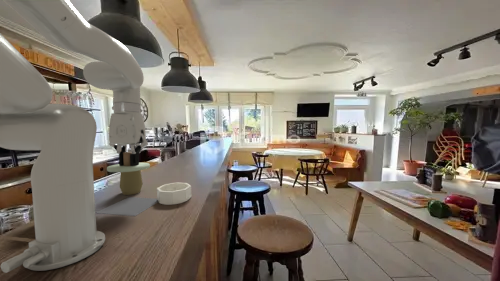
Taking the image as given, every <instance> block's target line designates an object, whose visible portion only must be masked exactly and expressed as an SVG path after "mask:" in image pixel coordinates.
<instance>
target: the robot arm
mask: <svg viewBox="0 0 500 281" xmlns="http://www.w3.org/2000/svg"><path fill="white" fill-rule="evenodd" d="M1 1H3V2H4V3H5V4H6V5H7V6H8V7H10V9H12V10H13V11H14V12H15V13H17V15H18V16H20V18H22V19H23V20H24V21H26V23H28V24H29V25H30V26H31V27H32V28H33V29H34V30H35V31H36V32H38V33H39V35H41V36H42V37H43V38H44V39H45V40H46V41H47V42H49V43H51V44H53V46H56V47H58V48H61V49H64V50H67V51H70V52H72V53H76V54H80V55H83V56H88V57H90V58H93V59H97V60H98V61H96V60H95V61H90V62H88V63H87V64H86V65H84V66H83V69H82V74H83V77H84V79H85V81H86V82H87V83H88V84H89V85H91V86H92V87H94V88H96V89H99V90H110V91H112V95H113V96H112V98H113V100H112V102H113V106H112V107H111V109H112V111H113V112H112V113H111V115H110V118H109V125H108V126H109V127H108V128H109V130H108V141H109V143H108V144H109V146H110V147H112V148H113V149H114V150H115V151H116V154H118V164H119V166H123V165H124V161H123V152H127V151H128V150H127V148H128V145H130V149H131V152H132V154H130V166H136V165H139V163H140V153H141V152H142V150H143V149H145V148H146V147H147V146H149V142H148V141H147V139H146V135H147V134H146V125H145V120H144V116H143V114H142V111H141V110H142V108H141V106H142V105H141V104H142V103H141V87H142V85H143V84H144V80H145V77H144V73H143V70H142V68H141V65H140V64H139V63H138V61H137V60H136V58H135V57H134V56H133V53H131V51H130V50H129V49H128V48H127V47H126V46H125V45H124V44H123V43H122V42H120V41H119V40H117V39H116V38H114V37H113V36H111V35H109V34H108V33H107V32H105V31H103V30H102V29H100V28H98V27H97V26H95V25H93V24H91V23H89V22H88V21H87V20H85V18H84V17H83V15H81V14H80V12H79V11H78V10H77V9H76V7H75V6H74V5H73V4H72V2H71V1H70V0H1ZM52 100H53V90H52V87H51V85H50V83H49V82H48V80H47V79H46V78H45V76H43V75H42V73H41V72H39V70H38V69H37V68H36V67H34V65H32V63H31V62H30V61H29V60H28V59H27V58H26V57H25V56H24V55H23V54H21V52H19V50H18V49H17V48H16V47H15V46H14V45H13V44H12V43H11V42H10V41H9V40H8V39H7V38H6V37H5V36H4V35H3V34H2V33H1V32H0V148H2V149H6V150H13V151H39V154H38V155H37V157H36V159H35V161H34V163H33V166H32V167H31V170H30V171H31V172H30V185H31V192H32V193H31V194H32V196H31V197H32V207H33V221H34V233H35V235H34V237H35V239H34V240H31V241H29V242H28V248H27V249H25V250H23V252H22V253H20V254H18V255H15V256H13V257H11V258H9V259H7V260H5V261H2V263H1V264H0V269H1V271H2V272H3V273H5V274H6V273H10V272H11V271H13V270H15V269H16V268H18V267H20V266H22V267H24V268H25V269H28V270H31V271H35V272H37V271H38V272H39V271H41V272H42V271H49V270H51V271H52V270H55V269H59V268H63V267H67V266H69V265H72V264H75V263H77V262H79V261H82V260H84V259H85V258H88V257H89V256H91V255H93V254H94V253H96V252H97V251H99V249H100V248H102V247H103V244H104V243H105V241H106V234H105V233H104V232H103V231H99V230H97V220H96V219H97V215H96V214H97V213H95V212H96V201H95V200H96V199H95V196H96V195H95V183H94V182H95V181H94V161H93V160H94V148H95V142H96V137H97V132H98V131H97V128H98V126H97V121H96V119H95V117H94V116H93V114H92V113H90V112H89V111H88V110H86V109H85V108H83V107H80V106H78V105H72V104H63V103H51V102H52Z"/></svg>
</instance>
